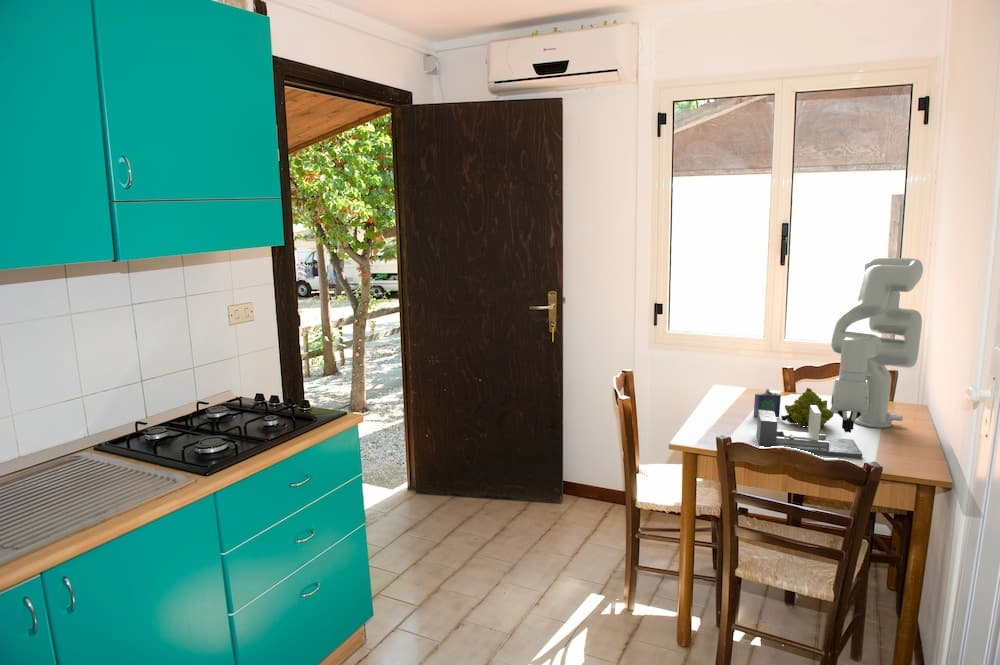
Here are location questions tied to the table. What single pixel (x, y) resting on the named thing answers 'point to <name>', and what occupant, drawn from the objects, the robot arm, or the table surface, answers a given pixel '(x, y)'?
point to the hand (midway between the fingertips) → (847, 431)
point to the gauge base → (823, 446)
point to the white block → (812, 426)
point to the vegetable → (807, 409)
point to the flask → (767, 402)
